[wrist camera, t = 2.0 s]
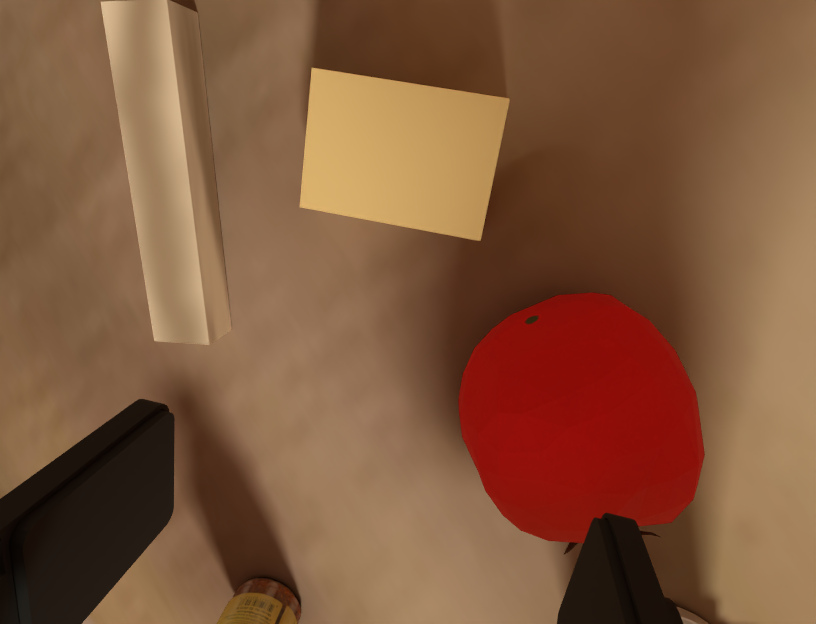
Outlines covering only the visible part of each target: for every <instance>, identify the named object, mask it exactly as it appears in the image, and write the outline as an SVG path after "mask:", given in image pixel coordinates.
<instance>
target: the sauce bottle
mask: <svg viewBox="0 0 816 624" xmlns="http://www.w3.org/2000/svg"><path fill="white" fill-rule="evenodd" d="M300 616H301V607H300V605H299V602H298V600H297V599H296V597H295V596H294V594H293V593H292V592H291V590H289V588H287V587H286V586H284V585H283V584H282V583H279V582H277V581H274V580H272V579H268V578H254V579H252V580H248V581H247V582H245V583H243V584H242V585H241V586H240V587H239V588H238V589H237V591H236V593H235V594H234V596H233V598H232V599H231V600H230V601H229V602H228V604H227V606H226V607H225V609H224V611H223V613H222V615H221V617H220V618H219V620H218V622H217V624H298V623H299V619H300Z"/></svg>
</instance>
